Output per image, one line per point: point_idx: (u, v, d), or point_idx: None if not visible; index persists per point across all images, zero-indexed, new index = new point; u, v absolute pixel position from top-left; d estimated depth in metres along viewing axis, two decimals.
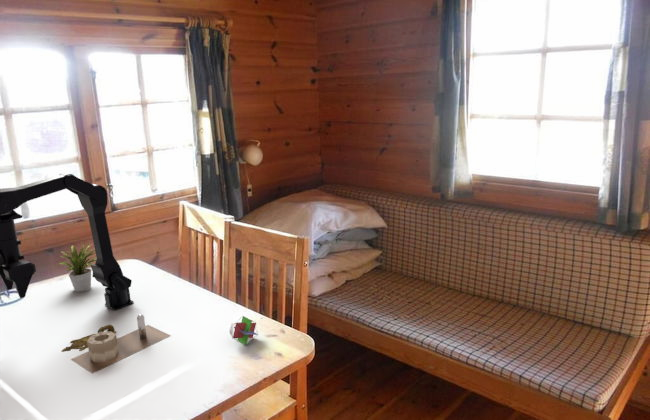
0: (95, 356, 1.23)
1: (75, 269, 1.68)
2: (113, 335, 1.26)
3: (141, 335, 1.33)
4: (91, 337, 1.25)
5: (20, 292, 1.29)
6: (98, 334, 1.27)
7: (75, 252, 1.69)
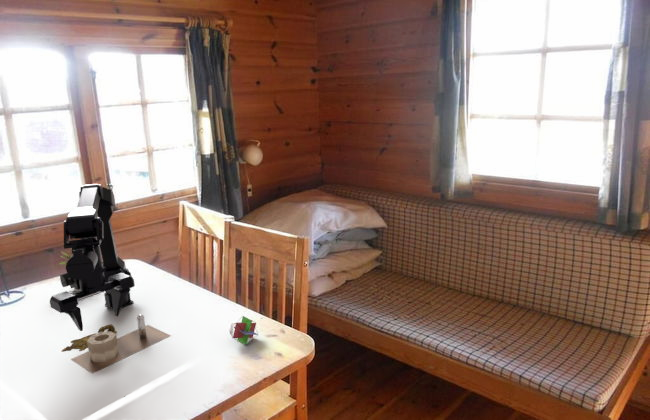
0: (95, 356, 1.23)
1: None
2: (113, 335, 1.26)
3: (141, 335, 1.33)
4: (91, 337, 1.25)
5: None
6: (98, 334, 1.27)
7: None
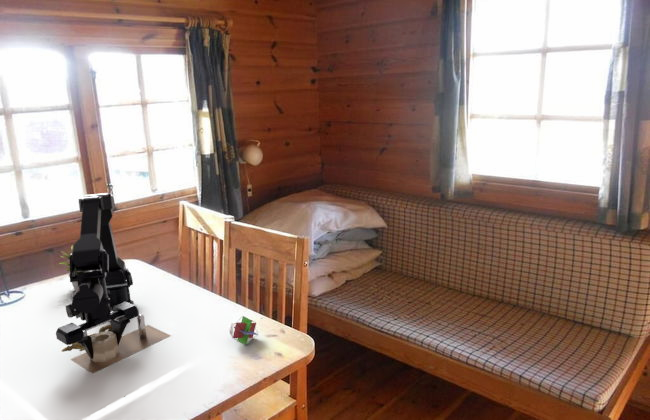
0: (95, 356, 1.23)
1: (75, 269, 1.68)
2: (113, 335, 1.26)
3: (141, 335, 1.33)
4: (91, 337, 1.25)
5: (86, 352, 1.23)
6: (98, 334, 1.27)
7: None
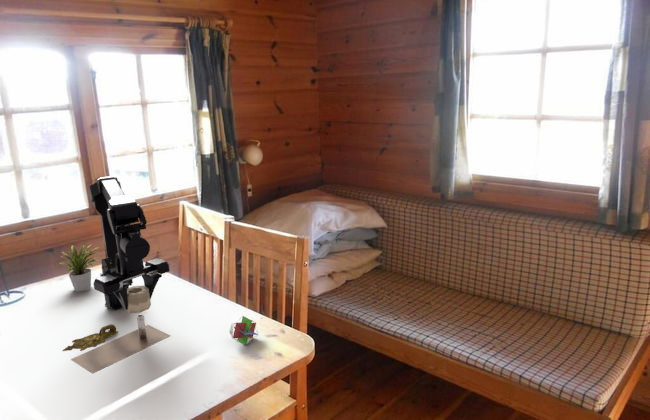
0: (130, 307, 1.28)
1: (75, 269, 1.68)
2: (146, 288, 1.32)
3: (141, 335, 1.33)
4: None
5: (121, 303, 1.29)
6: (132, 288, 1.32)
7: (75, 252, 1.69)
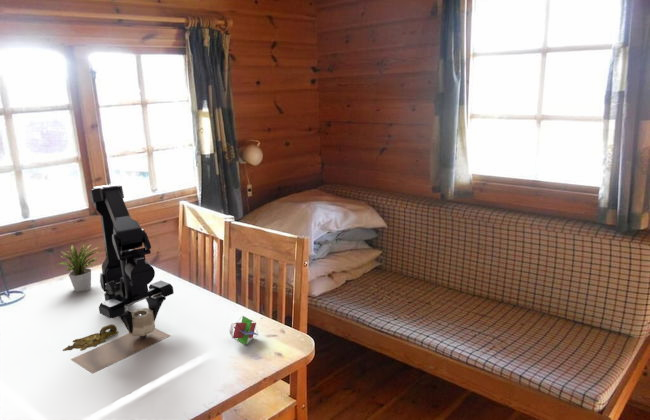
0: (134, 330, 1.30)
1: (75, 269, 1.68)
2: (150, 311, 1.33)
3: None
4: None
5: (126, 326, 1.30)
6: (136, 310, 1.34)
7: (75, 252, 1.69)
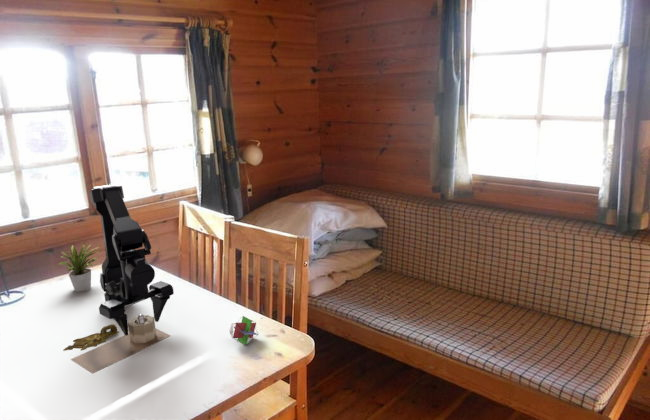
0: (136, 338, 1.31)
1: (75, 269, 1.68)
2: (151, 318, 1.34)
3: None
4: (131, 320, 1.33)
5: (121, 329, 1.29)
6: None
7: (75, 252, 1.69)
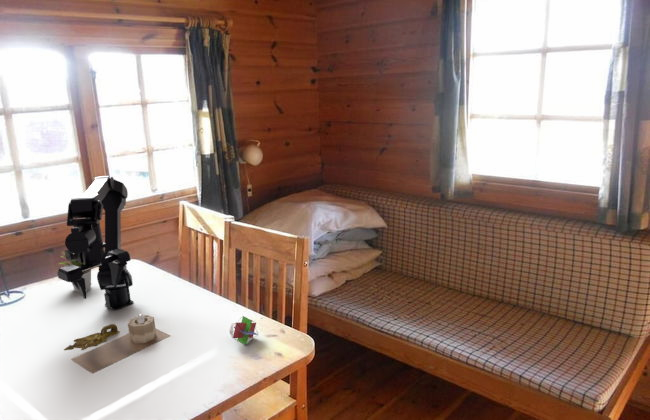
0: (136, 338, 1.31)
1: None
2: (151, 318, 1.34)
3: None
4: (131, 320, 1.33)
5: (80, 292, 1.37)
6: None
7: None
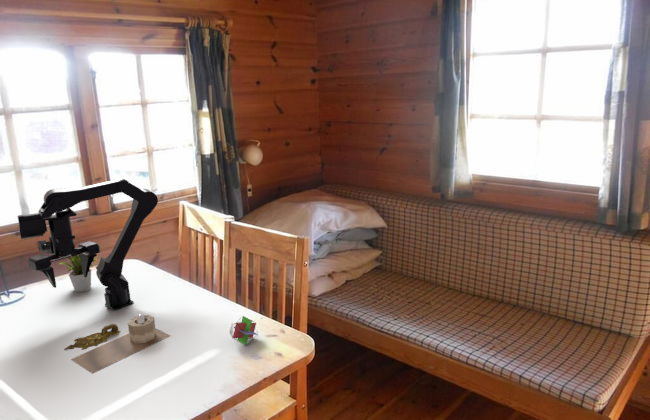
0: (136, 338, 1.31)
1: (75, 269, 1.68)
2: (151, 318, 1.34)
3: None
4: (131, 320, 1.33)
5: (50, 281, 1.45)
6: None
7: None
